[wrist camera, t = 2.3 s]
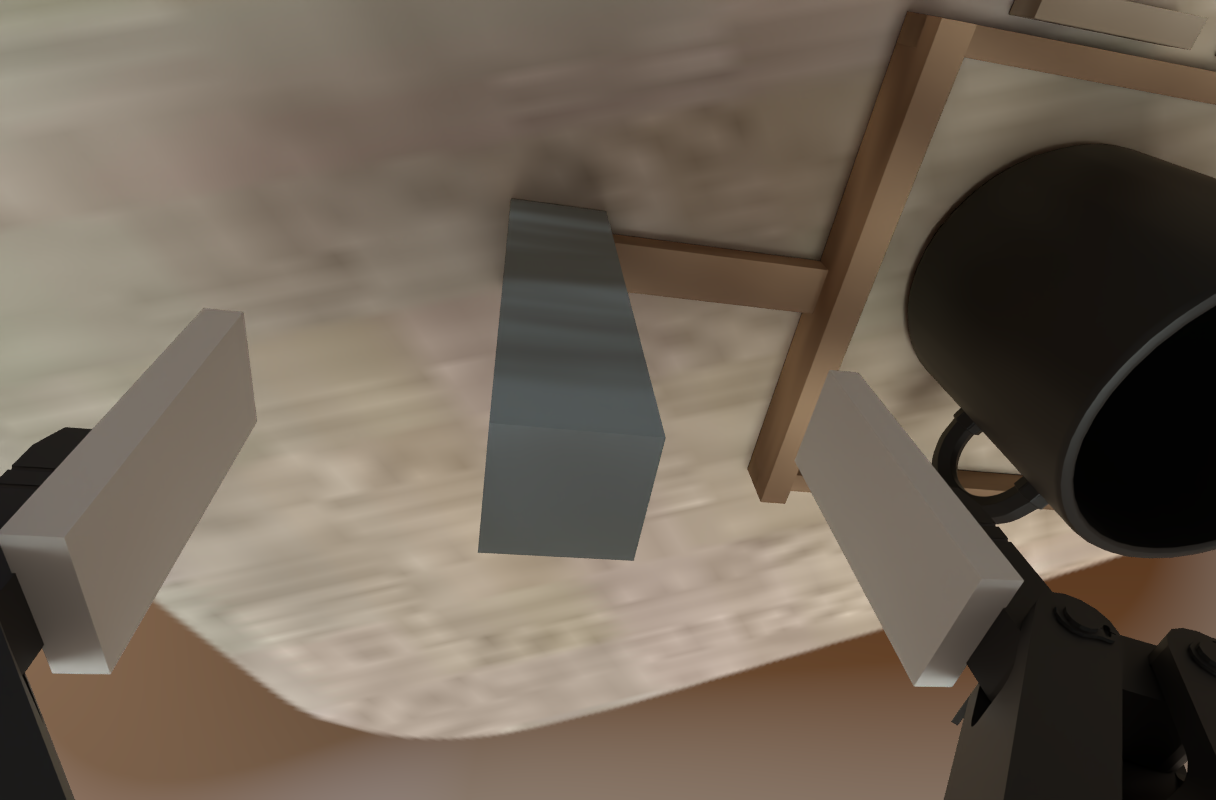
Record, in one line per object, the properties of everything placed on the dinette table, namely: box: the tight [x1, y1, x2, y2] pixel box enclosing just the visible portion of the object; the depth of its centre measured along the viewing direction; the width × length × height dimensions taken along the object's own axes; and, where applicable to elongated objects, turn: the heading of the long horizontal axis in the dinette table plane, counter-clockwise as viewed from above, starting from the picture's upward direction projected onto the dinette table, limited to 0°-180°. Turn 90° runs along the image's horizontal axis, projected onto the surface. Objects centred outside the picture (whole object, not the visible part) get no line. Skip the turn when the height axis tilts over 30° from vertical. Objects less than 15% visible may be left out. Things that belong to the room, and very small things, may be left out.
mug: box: [908, 144, 1216, 558], centre depth 21 cm, size 9×12×9 cm
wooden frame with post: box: [478, 11, 1216, 561], centre depth 19 cm, size 17×26×12 cm, turn 80°
